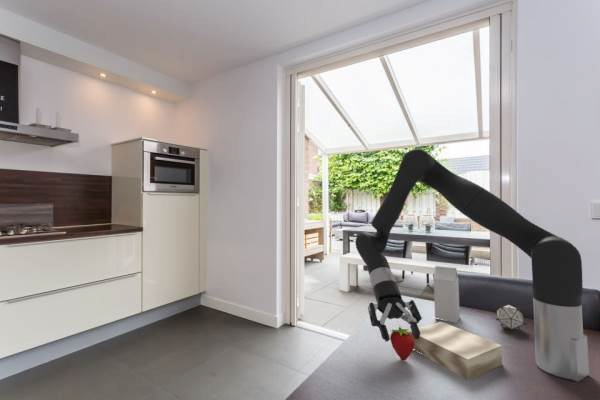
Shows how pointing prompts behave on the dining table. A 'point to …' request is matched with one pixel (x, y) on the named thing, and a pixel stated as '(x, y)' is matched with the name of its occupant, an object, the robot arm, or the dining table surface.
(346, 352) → the dining table surface
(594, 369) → the dining table surface
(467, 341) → the birch stand
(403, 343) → the strawberry
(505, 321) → the game die
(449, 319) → the grey tall block
